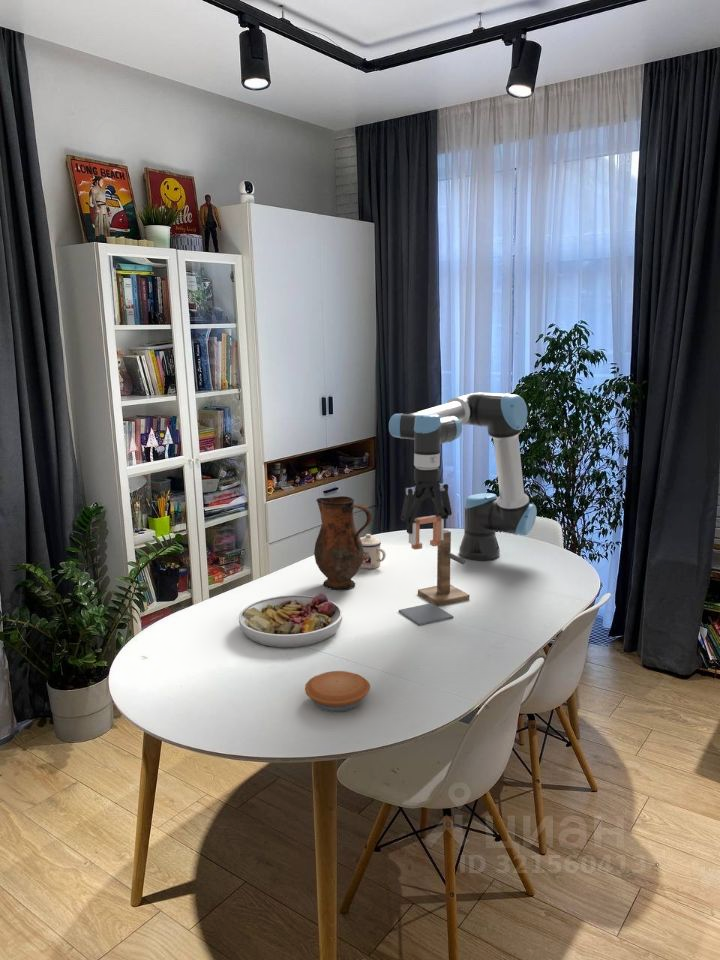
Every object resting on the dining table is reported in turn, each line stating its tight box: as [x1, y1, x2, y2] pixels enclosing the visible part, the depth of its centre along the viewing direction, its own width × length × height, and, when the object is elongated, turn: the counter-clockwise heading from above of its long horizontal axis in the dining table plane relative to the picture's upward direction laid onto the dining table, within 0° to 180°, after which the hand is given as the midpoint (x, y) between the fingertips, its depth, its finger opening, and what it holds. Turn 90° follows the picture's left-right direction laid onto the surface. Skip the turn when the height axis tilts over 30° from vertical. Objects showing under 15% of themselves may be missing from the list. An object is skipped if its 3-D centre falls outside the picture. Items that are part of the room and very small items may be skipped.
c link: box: [411, 514, 441, 551], centre depth 225 cm, size 9×2×9 cm, turn 117°
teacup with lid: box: [359, 533, 387, 569], centre depth 275 cm, size 12×9×12 cm
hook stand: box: [417, 529, 470, 607], centre depth 241 cm, size 16×12×22 cm
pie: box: [304, 670, 371, 713], centre depth 181 cm, size 15×16×5 cm
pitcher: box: [313, 495, 372, 591], centre depth 253 cm, size 17×21×30 cm
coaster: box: [398, 602, 454, 626], centre depth 231 cm, size 12×12×1 cm
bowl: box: [238, 592, 343, 648], centre depth 221 cm, size 30×30×8 cm
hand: (426, 541), depth 226 cm, fingers closed on c link, 9 cm apart
